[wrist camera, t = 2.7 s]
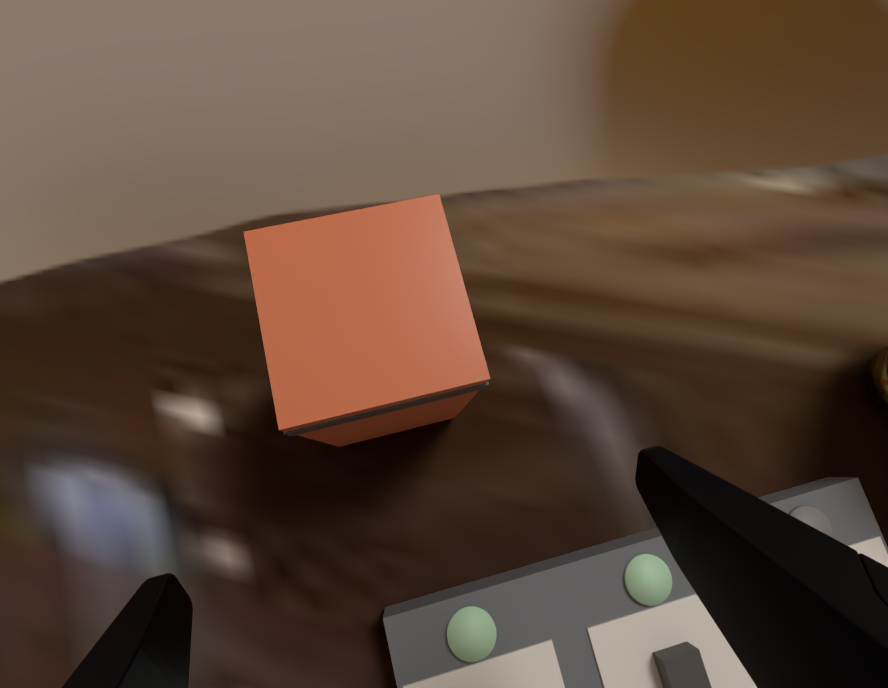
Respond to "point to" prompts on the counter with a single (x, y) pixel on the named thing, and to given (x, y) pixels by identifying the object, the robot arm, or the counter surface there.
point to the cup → (878, 378)
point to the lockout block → (365, 322)
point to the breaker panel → (599, 613)
